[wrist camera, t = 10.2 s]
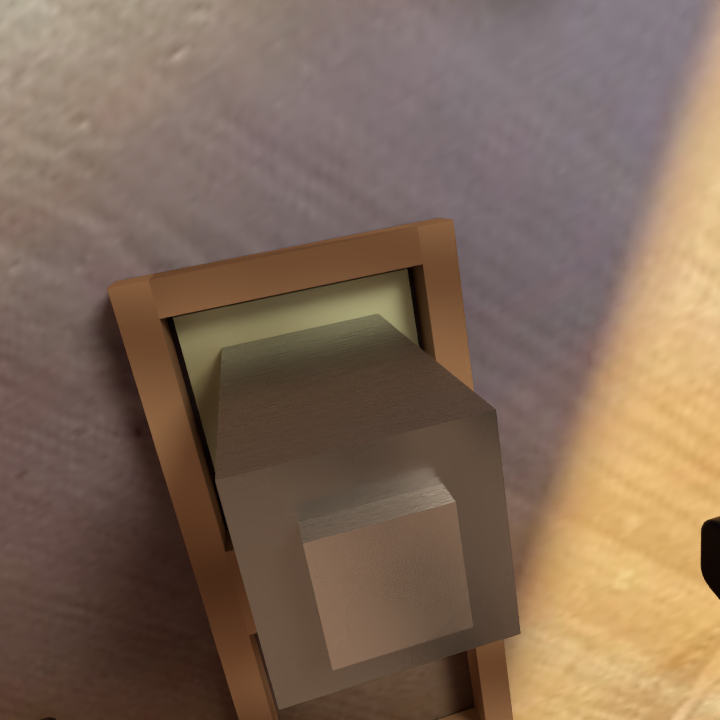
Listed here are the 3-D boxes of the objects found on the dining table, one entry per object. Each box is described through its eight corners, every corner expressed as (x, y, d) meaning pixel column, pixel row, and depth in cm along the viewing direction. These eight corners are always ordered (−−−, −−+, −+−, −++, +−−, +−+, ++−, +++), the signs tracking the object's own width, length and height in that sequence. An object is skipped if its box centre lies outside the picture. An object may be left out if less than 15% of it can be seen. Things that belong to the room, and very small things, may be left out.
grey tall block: (401, 452, 18) (536, 658, 10) (258, 489, 18) (281, 740, 10) (378, 313, 17) (512, 423, 9) (222, 347, 16) (214, 500, 8)
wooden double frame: (501, 718, 23) (516, 746, 22) (270, 796, 21) (272, 830, 20) (438, 218, 17) (453, 219, 16) (115, 281, 16) (107, 288, 14)
